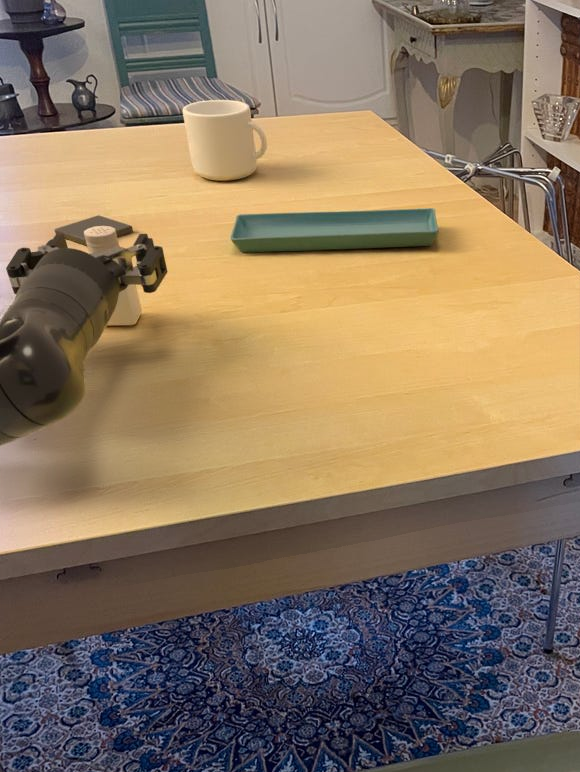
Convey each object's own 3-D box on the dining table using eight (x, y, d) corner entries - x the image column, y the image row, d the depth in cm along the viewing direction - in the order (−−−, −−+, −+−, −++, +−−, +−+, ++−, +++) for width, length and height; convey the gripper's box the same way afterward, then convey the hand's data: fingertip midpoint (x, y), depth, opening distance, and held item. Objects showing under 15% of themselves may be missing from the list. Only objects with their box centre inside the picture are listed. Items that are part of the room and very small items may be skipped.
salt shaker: (136, 327, 102) (114, 237, 96) (99, 327, 102) (74, 237, 95) (143, 312, 105) (123, 224, 98) (107, 312, 105) (84, 224, 98)
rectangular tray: (232, 255, 118) (228, 235, 116) (239, 230, 125) (236, 211, 123) (439, 251, 120) (439, 231, 118) (435, 226, 127) (434, 207, 125)
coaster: (89, 246, 120) (87, 240, 119) (55, 235, 123) (53, 229, 122) (133, 232, 124) (132, 225, 123) (99, 221, 127) (98, 214, 126)
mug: (283, 166, 146) (275, 101, 140) (260, 186, 139) (250, 118, 133) (210, 161, 148) (199, 96, 142) (183, 181, 140) (171, 113, 134)
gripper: (134, 263, 84) (165, 205, 96) (-29, 265, 84) (24, 206, 96) (152, 343, 90) (180, 278, 102) (-1, 345, 89) (45, 280, 101)
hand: (104, 243), depth 99 cm, fingers open, 8 cm apart
